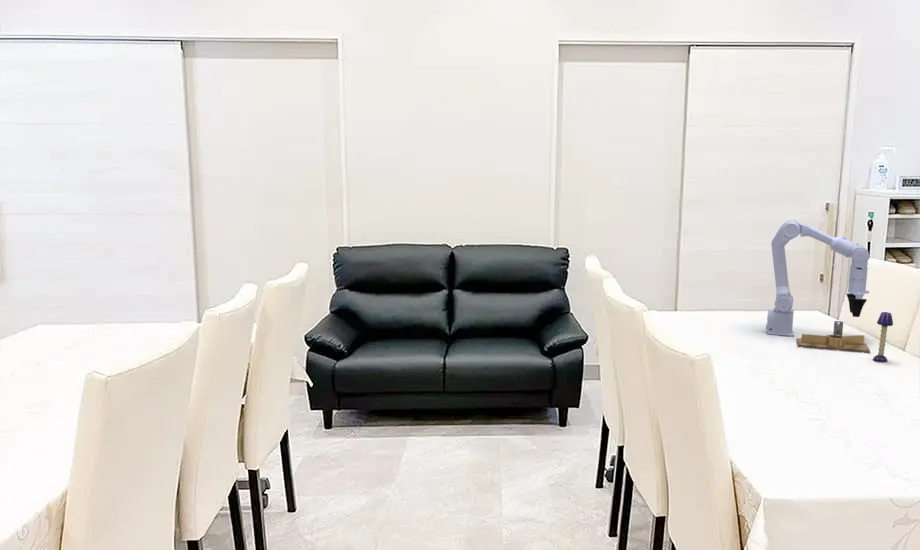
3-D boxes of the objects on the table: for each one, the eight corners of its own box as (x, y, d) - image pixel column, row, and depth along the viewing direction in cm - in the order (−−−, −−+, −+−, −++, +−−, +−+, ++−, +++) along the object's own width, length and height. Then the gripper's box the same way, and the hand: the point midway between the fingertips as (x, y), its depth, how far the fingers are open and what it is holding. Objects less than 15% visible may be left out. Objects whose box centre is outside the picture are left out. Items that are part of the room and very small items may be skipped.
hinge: (801, 344, 264) (802, 336, 264) (800, 338, 272) (801, 330, 272) (866, 349, 257) (867, 341, 256) (863, 343, 265) (864, 335, 264)
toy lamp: (885, 359, 248) (889, 311, 246) (892, 363, 244) (896, 314, 241) (870, 358, 249) (874, 311, 246) (877, 362, 244) (881, 314, 242)
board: (797, 347, 264) (797, 344, 264) (796, 340, 274) (796, 337, 274) (869, 353, 256) (869, 350, 256) (865, 346, 265) (865, 343, 265)
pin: (833, 340, 273) (834, 322, 272) (832, 338, 276) (833, 320, 275) (842, 341, 272) (843, 323, 271) (841, 339, 275) (842, 321, 274)
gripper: (872, 282, 263) (869, 319, 265) (867, 276, 276) (864, 311, 278) (850, 281, 265) (847, 317, 267) (846, 275, 278) (843, 310, 281)
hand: (854, 314), depth 273 cm, fingers open, 7 cm apart
